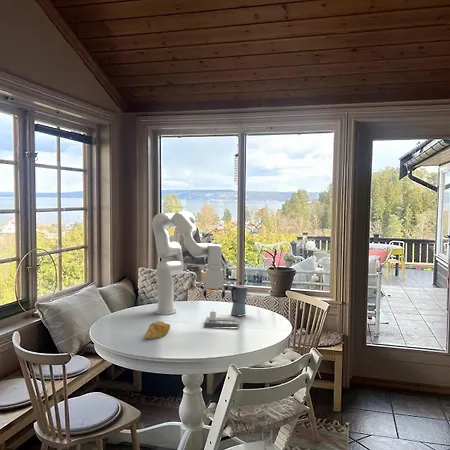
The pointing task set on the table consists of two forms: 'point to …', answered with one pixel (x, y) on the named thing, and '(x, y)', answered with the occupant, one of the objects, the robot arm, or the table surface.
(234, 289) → the moka pot
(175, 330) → the table surface
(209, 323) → the fader console
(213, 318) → the fader knob
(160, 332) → the croissant
